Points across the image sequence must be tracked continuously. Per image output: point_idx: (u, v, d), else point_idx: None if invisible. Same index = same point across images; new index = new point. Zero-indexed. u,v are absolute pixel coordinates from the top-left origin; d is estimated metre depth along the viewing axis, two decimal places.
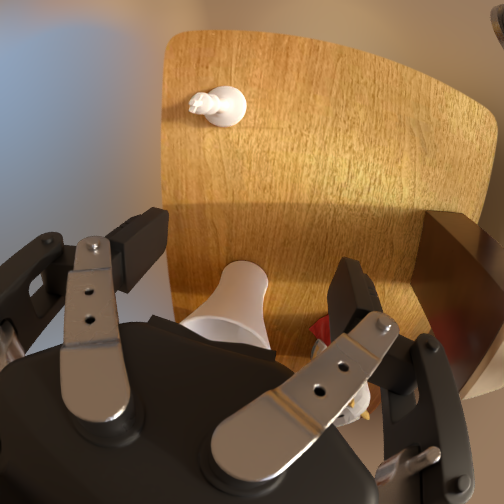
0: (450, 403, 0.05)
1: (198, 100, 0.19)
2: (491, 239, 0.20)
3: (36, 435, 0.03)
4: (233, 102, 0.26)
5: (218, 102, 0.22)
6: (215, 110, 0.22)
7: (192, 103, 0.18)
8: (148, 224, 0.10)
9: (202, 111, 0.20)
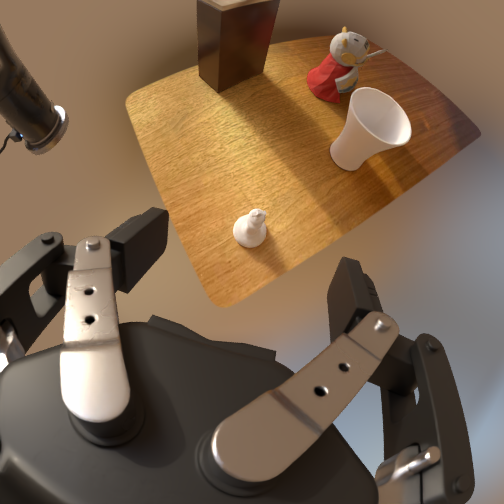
0: (450, 403, 0.05)
1: (255, 212, 0.31)
2: (199, 48, 0.36)
3: (36, 435, 0.03)
4: (243, 223, 0.39)
5: None
6: None
7: (259, 210, 0.30)
8: (148, 224, 0.10)
9: (261, 211, 0.32)
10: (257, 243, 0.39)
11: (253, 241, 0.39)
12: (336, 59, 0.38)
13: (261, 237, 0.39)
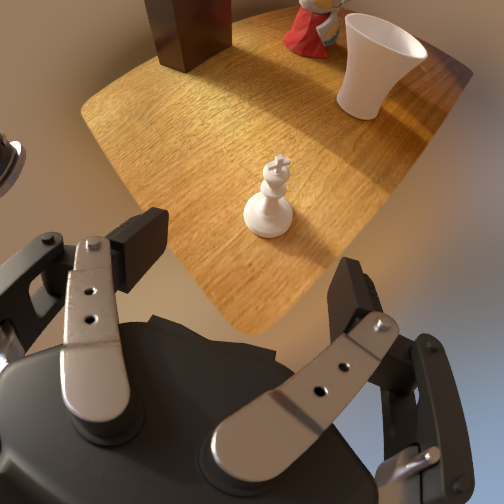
0: (450, 403, 0.05)
1: (273, 161, 0.18)
2: (153, 27, 0.27)
3: (36, 435, 0.03)
4: (256, 204, 0.26)
5: (264, 181, 0.22)
6: None
7: (279, 155, 0.18)
8: (148, 224, 0.10)
9: None
10: (284, 227, 0.26)
11: (277, 226, 0.26)
12: (310, 8, 0.28)
13: (287, 217, 0.26)
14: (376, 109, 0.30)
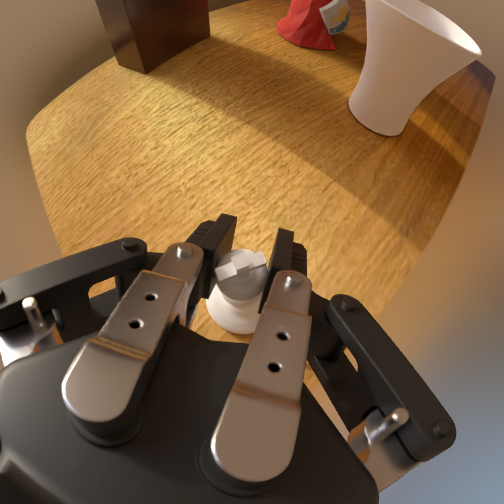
0: (392, 358, 0.06)
1: (230, 263, 0.09)
2: (103, 18, 0.17)
3: (12, 434, 0.02)
4: None
5: None
6: None
7: (241, 258, 0.08)
8: (227, 231, 0.11)
9: (250, 254, 0.10)
10: None
11: (255, 320, 0.17)
12: None
13: None
14: (404, 122, 0.21)
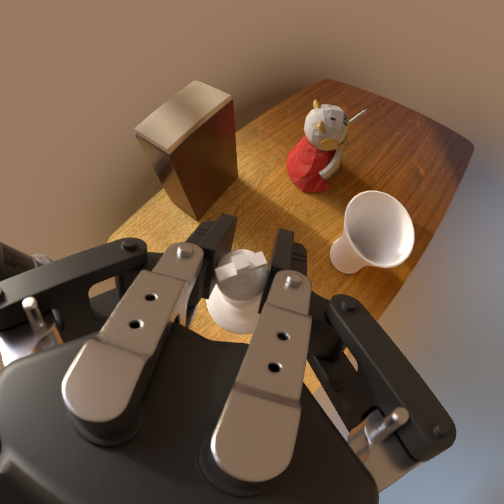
0: (392, 358, 0.06)
1: (230, 264, 0.09)
2: (161, 180, 0.39)
3: (11, 434, 0.02)
4: None
5: None
6: None
7: (241, 258, 0.08)
8: (227, 231, 0.11)
9: (250, 255, 0.10)
10: None
11: (255, 320, 0.17)
12: (315, 145, 0.40)
13: None
14: (361, 267, 0.42)
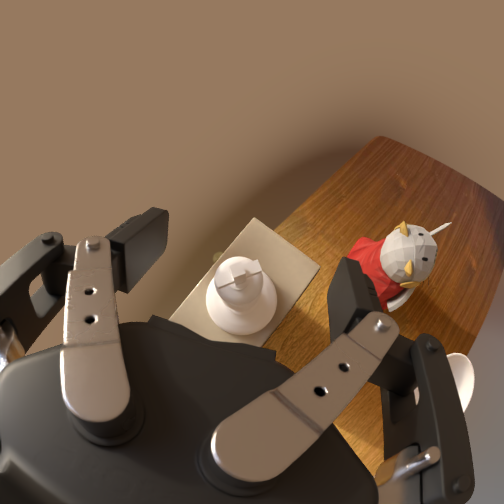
0: (450, 403, 0.05)
1: (228, 271, 0.10)
2: None
3: (36, 435, 0.03)
4: None
5: None
6: None
7: (237, 266, 0.09)
8: (148, 224, 0.10)
9: (247, 262, 0.11)
10: (263, 323, 0.17)
11: (253, 322, 0.17)
12: None
13: (268, 308, 0.18)
14: None
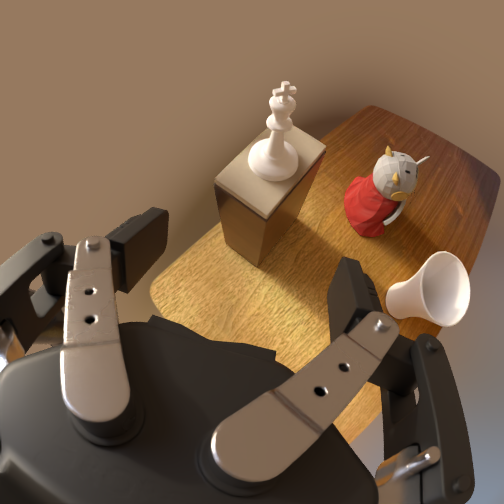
0: (450, 403, 0.05)
1: (280, 89, 0.17)
2: (225, 228, 0.36)
3: (36, 435, 0.03)
4: (261, 148, 0.25)
5: (269, 116, 0.20)
6: None
7: (286, 82, 0.16)
8: (148, 224, 0.10)
9: None
10: (290, 170, 0.24)
11: (283, 168, 0.24)
12: (382, 194, 0.38)
13: (293, 161, 0.24)
14: None
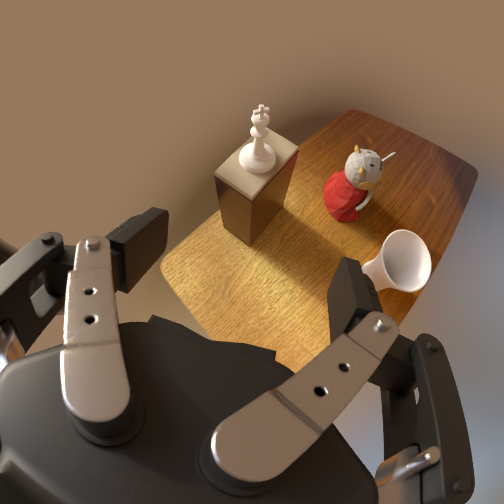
0: (449, 403, 0.05)
1: (258, 109, 0.26)
2: (223, 212, 0.45)
3: (36, 435, 0.03)
4: (248, 149, 0.34)
5: (252, 127, 0.29)
6: None
7: (261, 105, 0.25)
8: (148, 224, 0.10)
9: (263, 113, 0.27)
10: (269, 165, 0.34)
11: (264, 164, 0.34)
12: (353, 184, 0.47)
13: (271, 158, 0.34)
14: None
